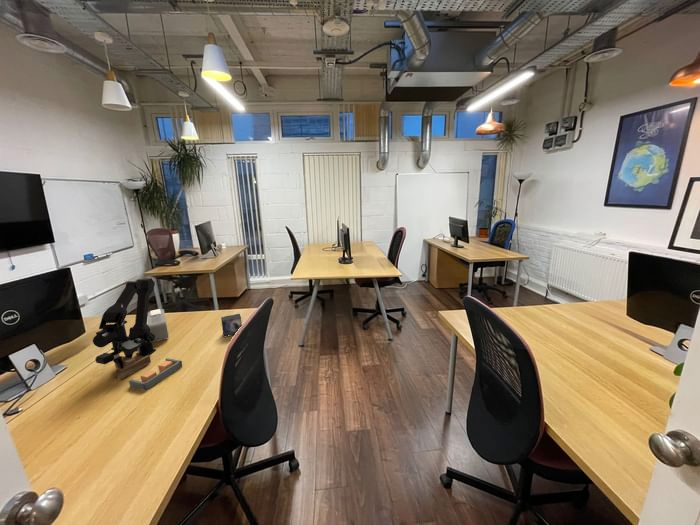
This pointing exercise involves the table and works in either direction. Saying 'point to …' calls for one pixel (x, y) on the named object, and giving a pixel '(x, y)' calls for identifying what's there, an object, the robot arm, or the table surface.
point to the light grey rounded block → (157, 324)
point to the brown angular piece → (131, 365)
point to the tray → (157, 376)
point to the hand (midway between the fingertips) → (125, 366)
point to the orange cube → (164, 365)
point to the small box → (231, 324)
